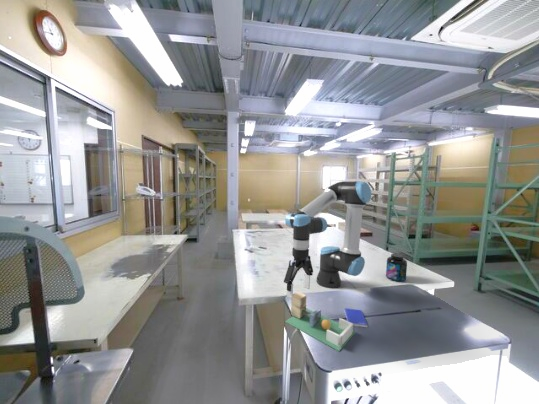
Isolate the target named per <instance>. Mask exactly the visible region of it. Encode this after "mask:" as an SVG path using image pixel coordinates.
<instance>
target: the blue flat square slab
mask: <svg viewBox="0 0 539 404" xmlns="http://www.w3.org/2000/svg"><path fill="white" fill-rule="evenodd" d="M343 311H344V314H345V317H346V321H348V322H351V323H353V324H354V326H353V327H363V328H368V327H369V326H368V323H367V321H366V317H365V316H364V313H363V311H362V310H361V309H355V308H347V307H345V308H344V310H343Z"/></svg>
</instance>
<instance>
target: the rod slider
mask: <svg viewBox="0 0 539 404" xmlns="http://www.w3.org/2000/svg"><path fill="white" fill-rule="evenodd" d="M290 300H291V302H290V303H291V305H290V315H291V316H295V317H297V318H299V319H300V318H301V317H303V316H304V315H306V316H308V317H310V326H311V327H313V326H314V325H316V324H317V323H318V322H319V321H320V320H321V315H322V309H321V308H317V309H315V310H314V311H313V313H310V312H307V311H306V308H307V294H304V293H303V292H300V291H297V292H293V298H292V299H291V298H290Z"/></svg>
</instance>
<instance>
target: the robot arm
mask: <svg viewBox="0 0 539 404" xmlns="http://www.w3.org/2000/svg"><path fill="white" fill-rule="evenodd" d="M371 199H372V189H371V187H370V185H369V184H368V182H365V181H344V180H343V181H339V182H335V183H334V184H332V185H330V186H328V187H326V188H325V189H324V190H323V191H322V193H321V194H320V195H318V196H317V197H316V198H315V199H313V200H312V201H310V202H309V203H308V204H306V205H305V206H304V207H303V208H301V209H299V210H297V212H295V213H288V214H287V215H286V216H285V220H284V222H285V225H286V226H287V227H288V228H291V229H292V230H293V232H292V233H293V234H292V251H291V253H292V254H291V255H292V256H293V260H289V261H288V265H287V266H288V267H287V269H286V273H285V277H284V279H283V283H284V284H286V297H287V298H289V299H290V300H291V299H292V298H293V294H294V283H293V282H294V280H295V277H296V276H297V273H298V272H299V271H300V270H301V269H302V270H303V271H304V273H305V274H304V278H303V279H304V282H303V288H305V289H308V290H310V289H311V288H310V287H311V285H310V283H311V276H313V273H314V268H313V265H312V261H311V256H310V254H309V253H310V249H309V248H310V237H311V236H310V235H312V234H313V235H314V234H320V233H324V232H325V231H326V230H327V228H328V222H327V219H325V218H324V217H320V216H317V215H318V214H319V213H320V212H323V210H324V209H325V208H327V207H328V206H330V204H334V203H336V202H338V201H343V202H344V205H345V206H346V214H345V225H344V236H343V237H344V238H343V247H341V248H340V247H339V246H333V245H331V246H324V247H322V248H321V249H320V252H319V270H318V271H319V272H318V273H317V276H316V283H317V284H318V285H319V286H321V287H324V288H329V289H336V288H339V287H341V286H342V285H341V284H342V280H341V275H340V272H341V273H345V274H347V275H349V276H353V277H357V276H359V275H360V274H361V273H362V272H363V270H364V267H365V263H366V262H365V261H366V260H365V258H364V257H363V256H362V252H361V250H360V239H361V231H362V230H361V229H362V221H363V220H362V219H363V209H364V208H365V207H366V206H367V203H369V202H370V201H371ZM316 216H317V217H316Z"/></svg>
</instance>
